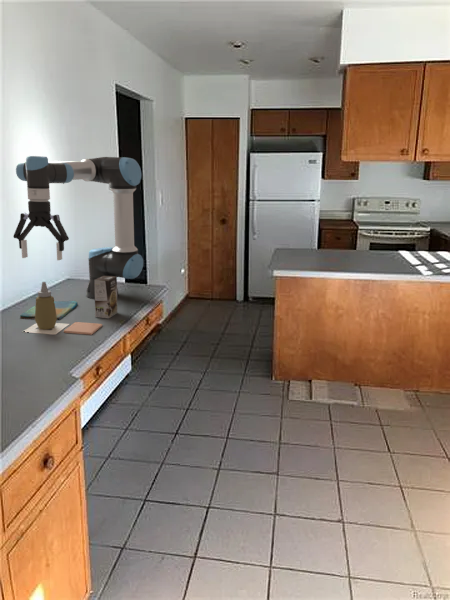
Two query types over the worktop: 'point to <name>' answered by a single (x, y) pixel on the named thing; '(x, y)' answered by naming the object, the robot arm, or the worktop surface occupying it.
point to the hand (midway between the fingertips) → (42, 258)
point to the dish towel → (60, 307)
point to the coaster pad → (83, 328)
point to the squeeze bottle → (45, 309)
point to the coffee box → (105, 296)
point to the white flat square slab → (53, 331)
